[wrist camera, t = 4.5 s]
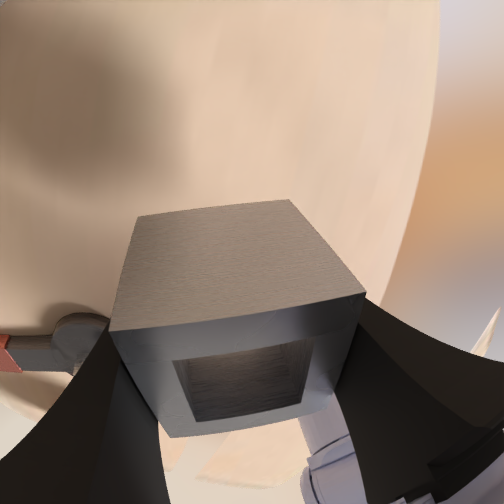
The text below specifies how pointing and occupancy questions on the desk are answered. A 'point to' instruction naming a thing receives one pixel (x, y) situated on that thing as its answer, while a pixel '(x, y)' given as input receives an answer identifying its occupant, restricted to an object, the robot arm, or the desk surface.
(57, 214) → the desk surface
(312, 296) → the hollow square tube
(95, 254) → the desk surface
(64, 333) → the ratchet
